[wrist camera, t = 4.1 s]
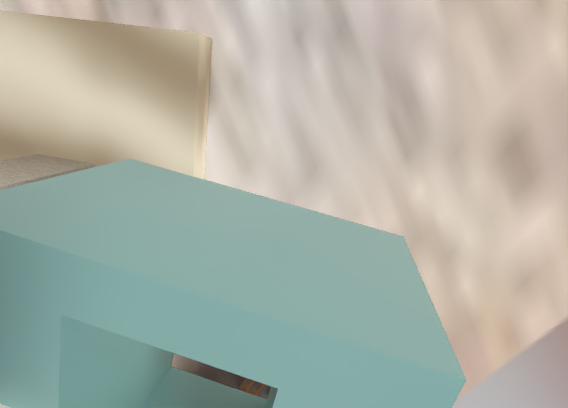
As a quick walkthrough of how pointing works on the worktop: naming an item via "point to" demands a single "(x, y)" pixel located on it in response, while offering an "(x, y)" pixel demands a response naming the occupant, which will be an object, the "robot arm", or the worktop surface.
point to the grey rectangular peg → (36, 169)
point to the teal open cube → (206, 300)
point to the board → (103, 92)
